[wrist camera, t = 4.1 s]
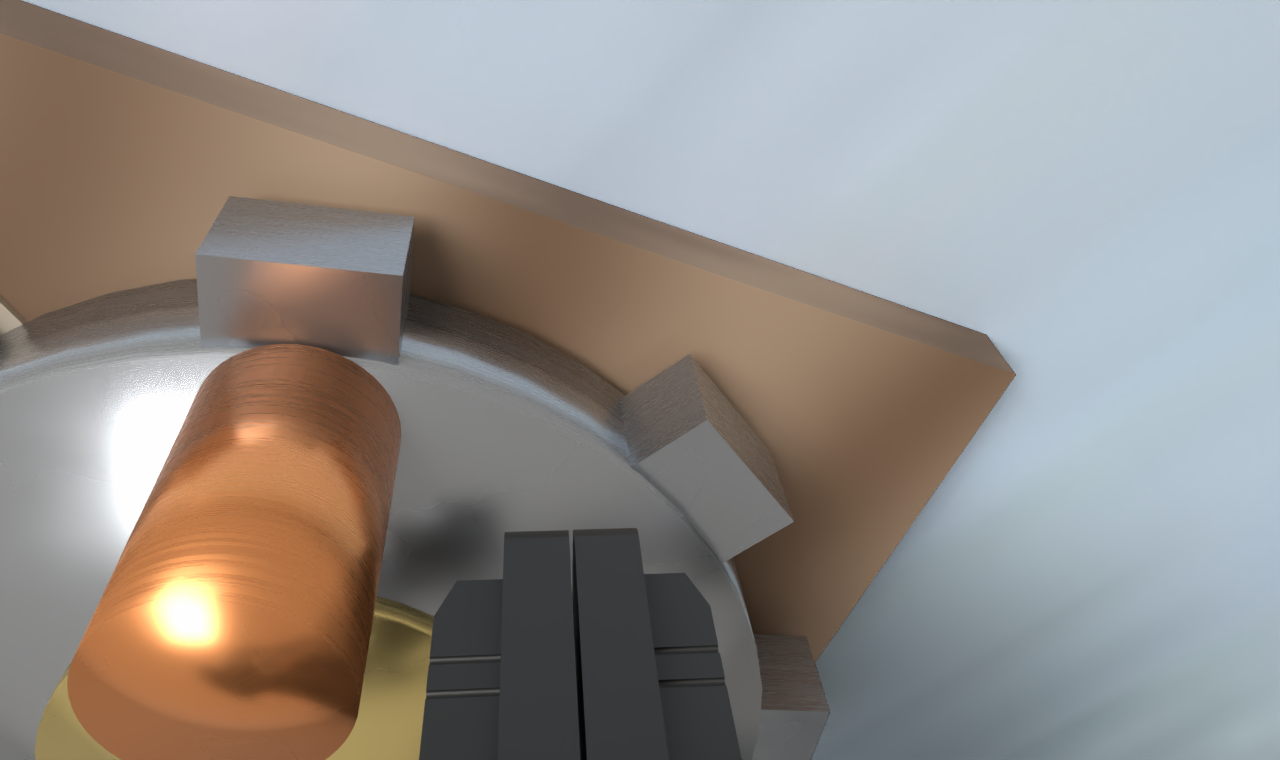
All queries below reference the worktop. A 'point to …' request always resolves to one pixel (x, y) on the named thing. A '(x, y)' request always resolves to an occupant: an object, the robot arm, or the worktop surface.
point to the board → (497, 281)
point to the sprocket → (330, 501)
